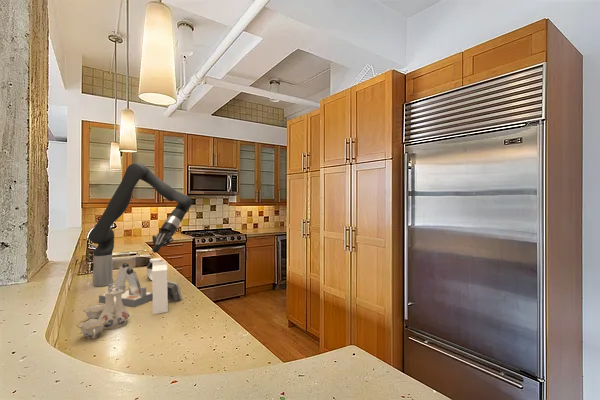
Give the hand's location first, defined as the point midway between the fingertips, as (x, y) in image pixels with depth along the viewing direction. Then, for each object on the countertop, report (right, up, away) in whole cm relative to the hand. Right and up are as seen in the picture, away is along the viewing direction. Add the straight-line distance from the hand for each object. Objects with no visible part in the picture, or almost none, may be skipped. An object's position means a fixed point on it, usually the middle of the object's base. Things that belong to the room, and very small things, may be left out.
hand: (154, 251), depth 163 cm
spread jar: (-13, -22, +32) cm, 41 cm away
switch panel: (-10, -23, -8) cm, 26 cm away
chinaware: (-2, -24, -38) cm, 45 cm away
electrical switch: (+12, -23, -8) cm, 27 cm away
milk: (+13, -23, -22) cm, 34 cm away
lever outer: (-3, -19, -10) cm, 22 cm away
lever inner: (-16, -19, -6) cm, 25 cm away
